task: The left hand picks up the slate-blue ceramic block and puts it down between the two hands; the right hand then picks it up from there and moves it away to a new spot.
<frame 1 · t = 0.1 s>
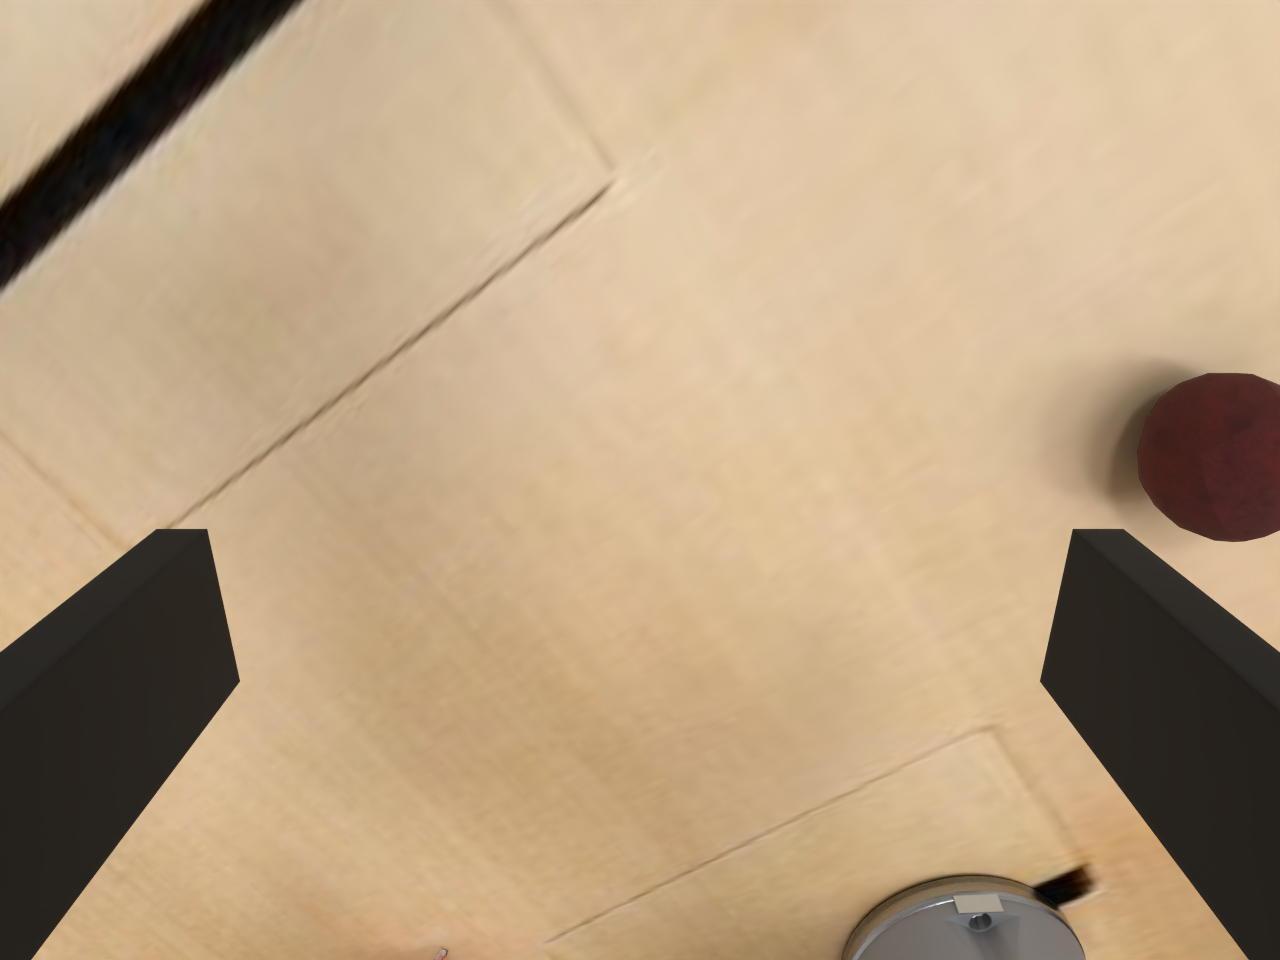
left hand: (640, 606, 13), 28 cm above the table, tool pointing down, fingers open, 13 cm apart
dark red ball: (1179, 429, 41), on the table
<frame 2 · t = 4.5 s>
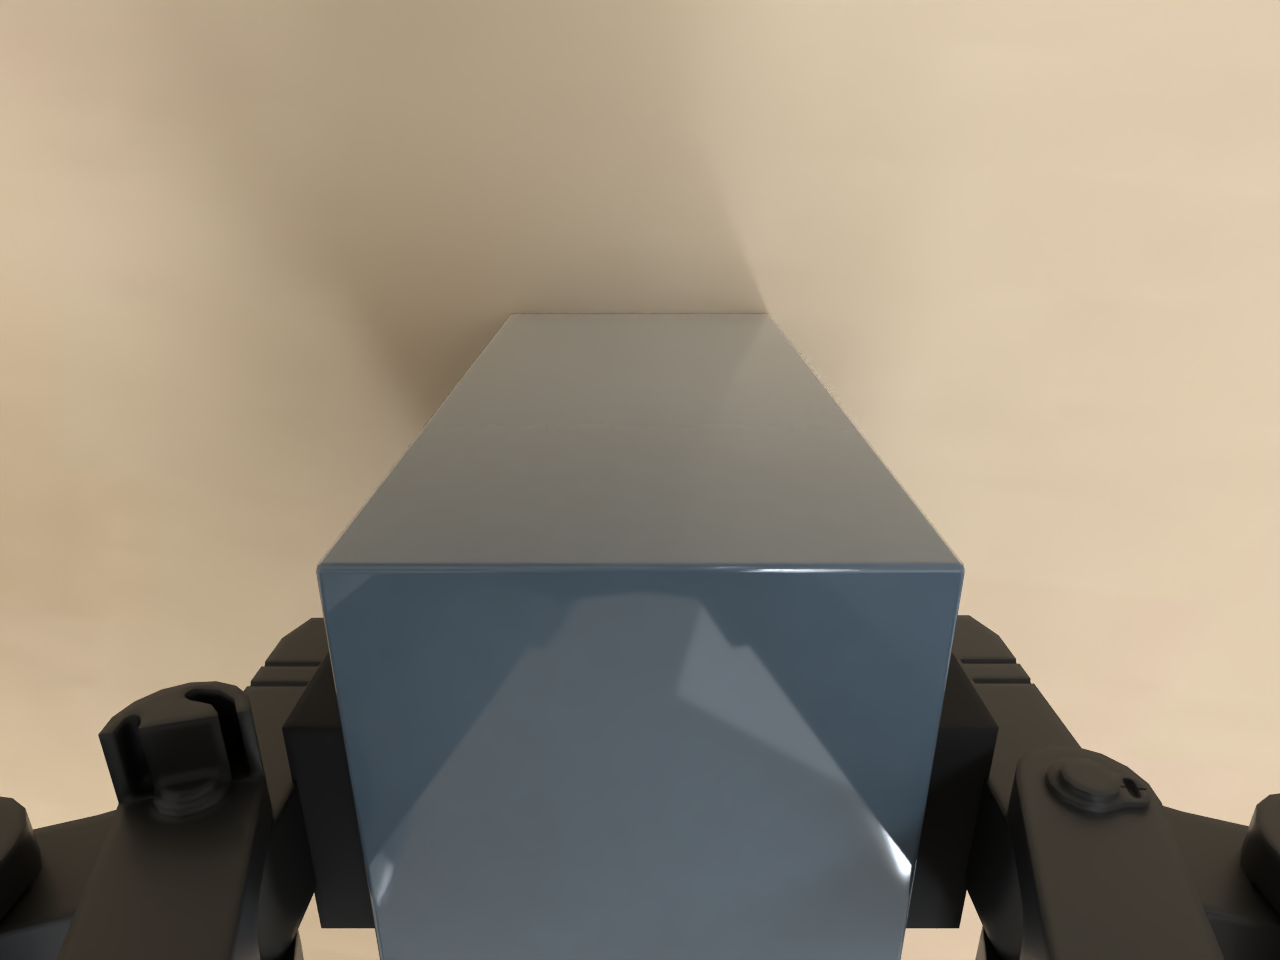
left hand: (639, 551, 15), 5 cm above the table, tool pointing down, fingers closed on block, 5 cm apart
block: (640, 461, 19), on the table, touching left hand
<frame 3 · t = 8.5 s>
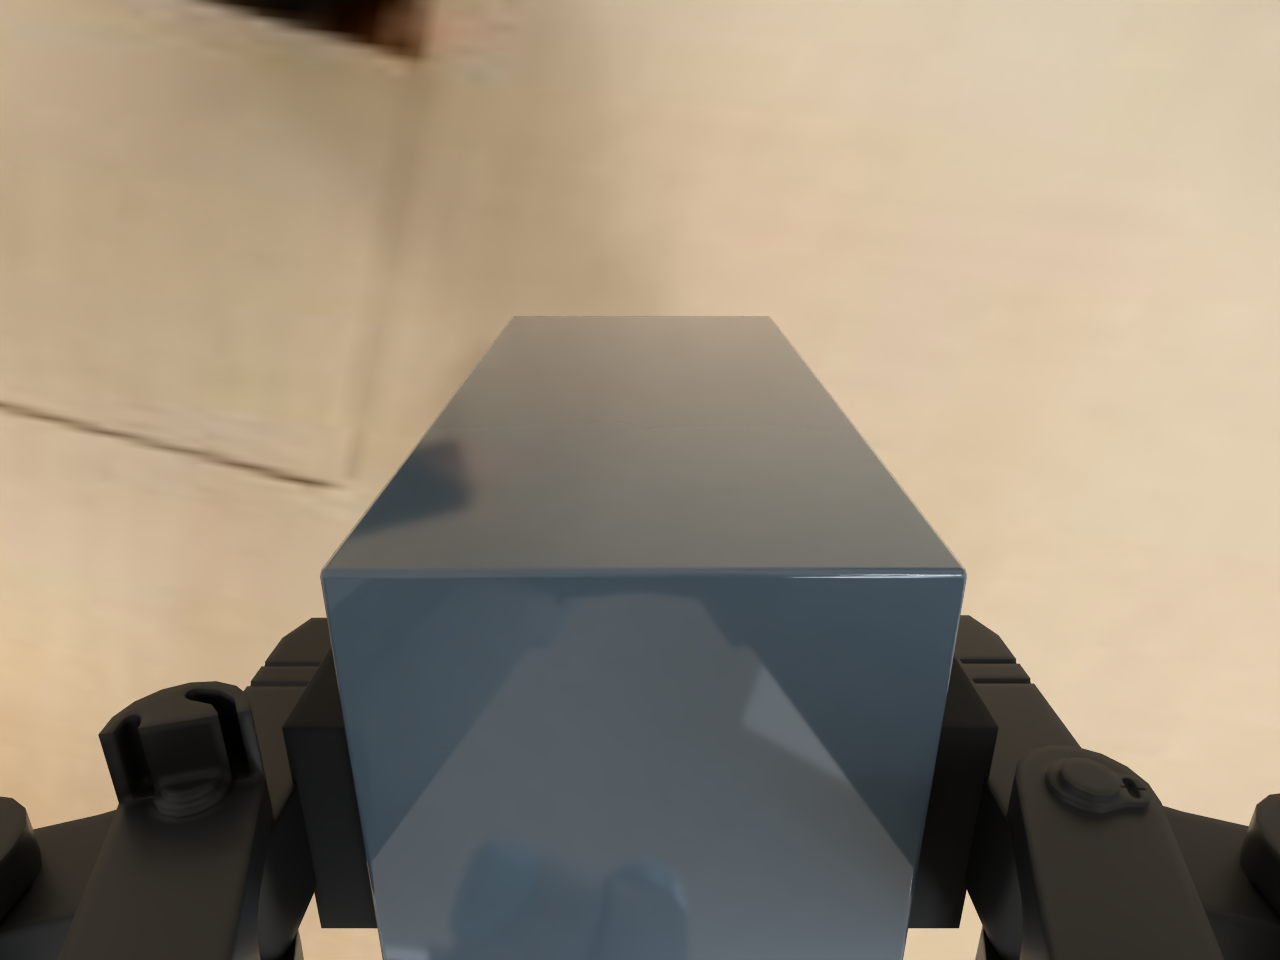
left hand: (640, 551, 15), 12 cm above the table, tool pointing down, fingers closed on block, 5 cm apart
block: (641, 463, 19), point 8 cm above the table, touching left hand
when the left hand's fingers open (6 cm above the table, at t = 13.0 s): block drops 1 cm, on the table.
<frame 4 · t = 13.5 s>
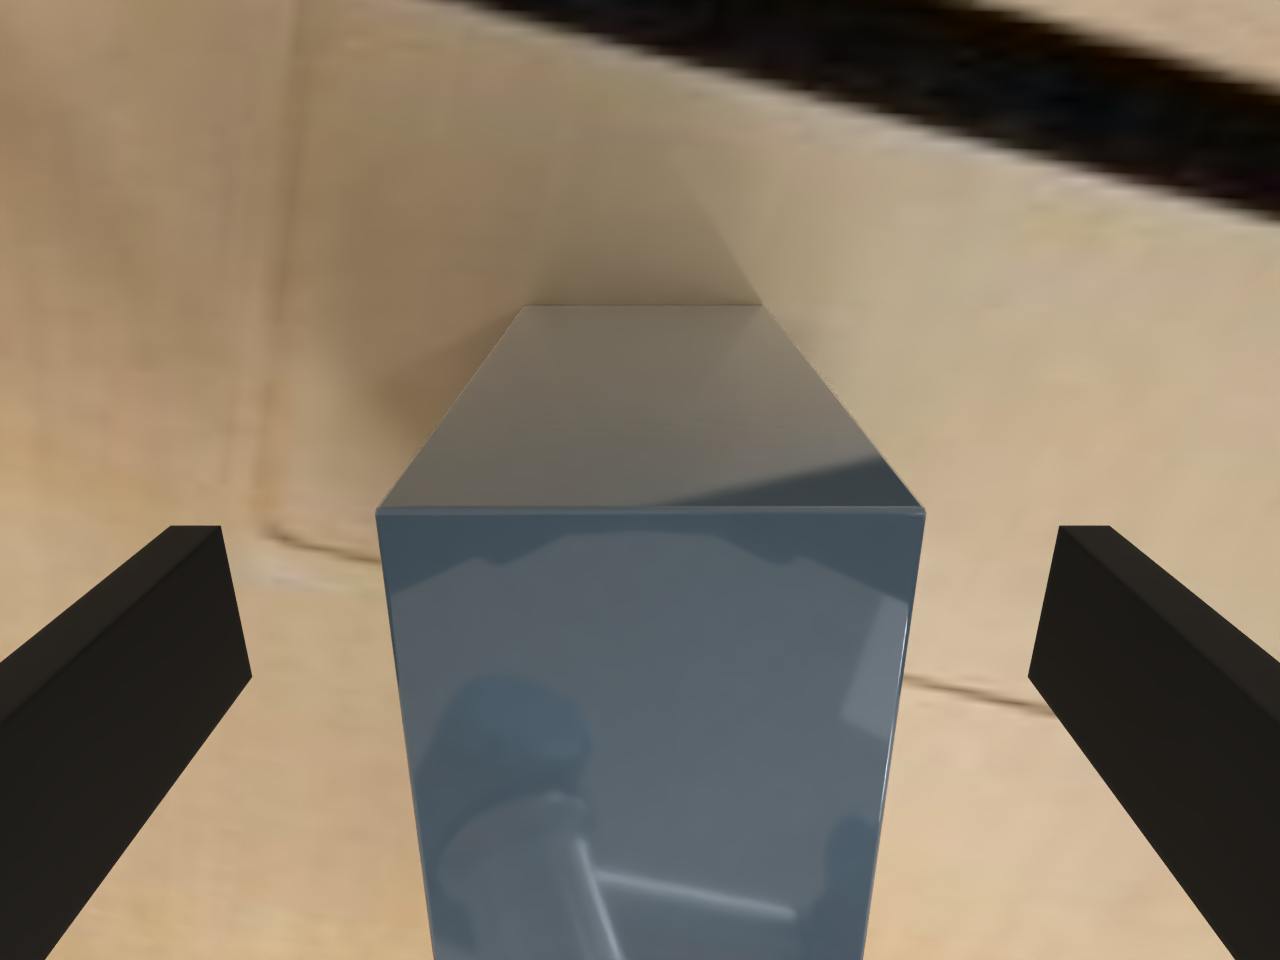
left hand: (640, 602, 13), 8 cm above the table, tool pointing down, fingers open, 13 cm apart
block: (644, 444, 20), on the table
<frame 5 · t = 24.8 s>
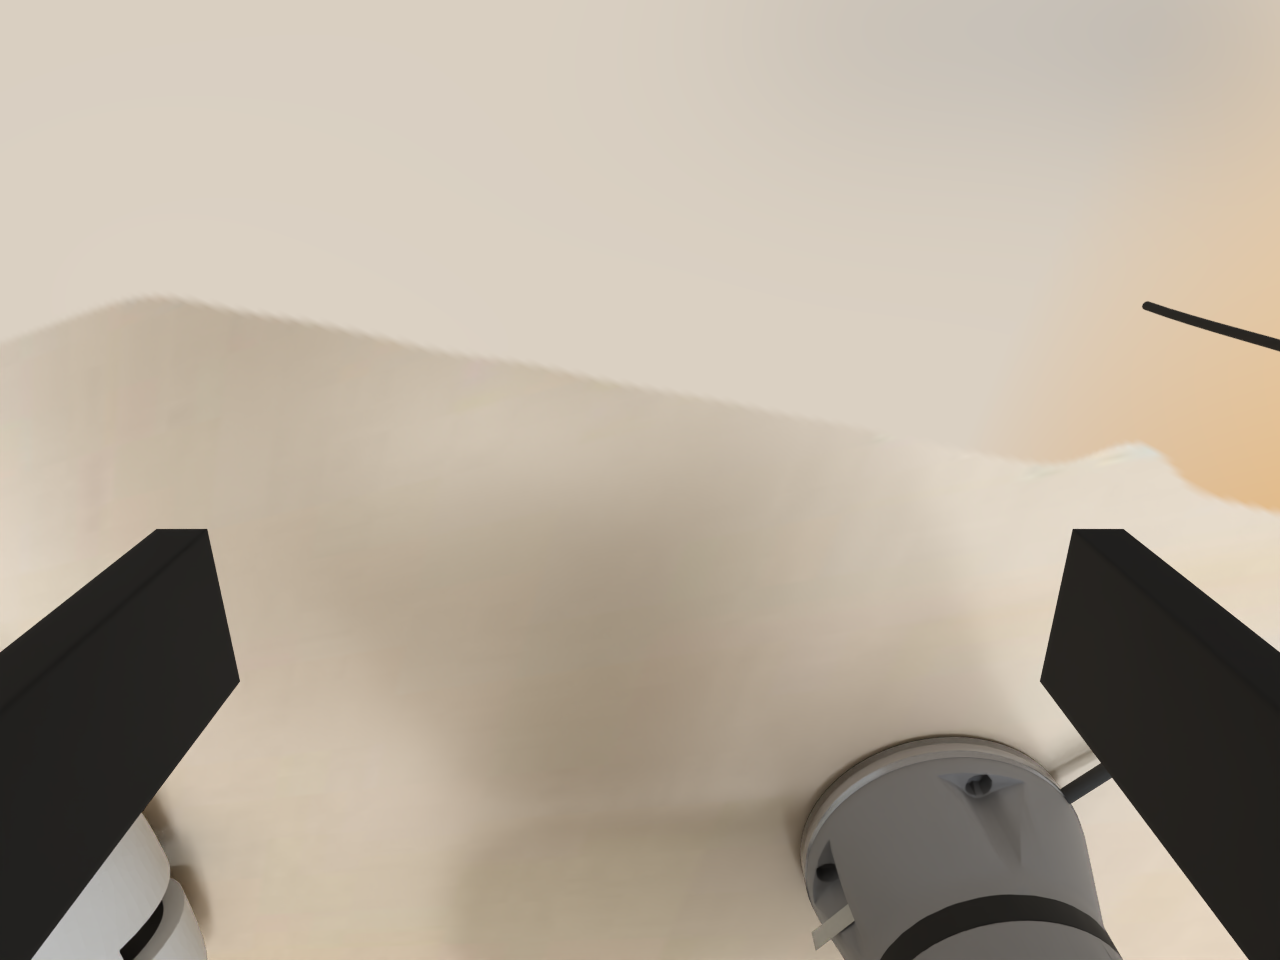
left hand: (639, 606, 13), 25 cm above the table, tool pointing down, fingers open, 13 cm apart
projector: (22, 872, 48), on the table
when the right hand's fingers open (6 cm above the table, at t = 36.4 s): block drops 1 cm, on the table.
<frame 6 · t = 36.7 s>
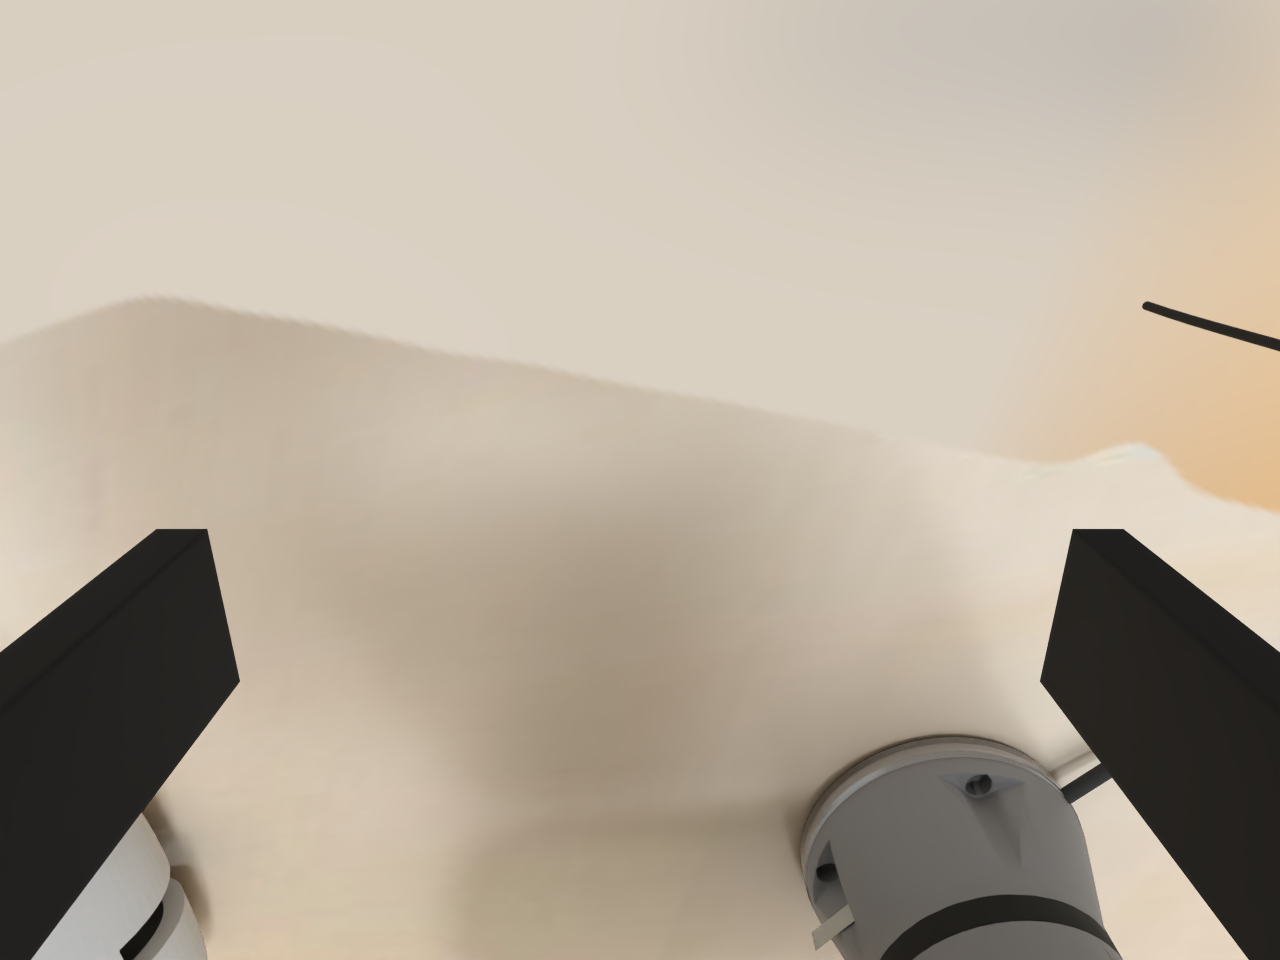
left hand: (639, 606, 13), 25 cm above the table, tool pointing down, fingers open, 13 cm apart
projector: (22, 872, 48), on the table
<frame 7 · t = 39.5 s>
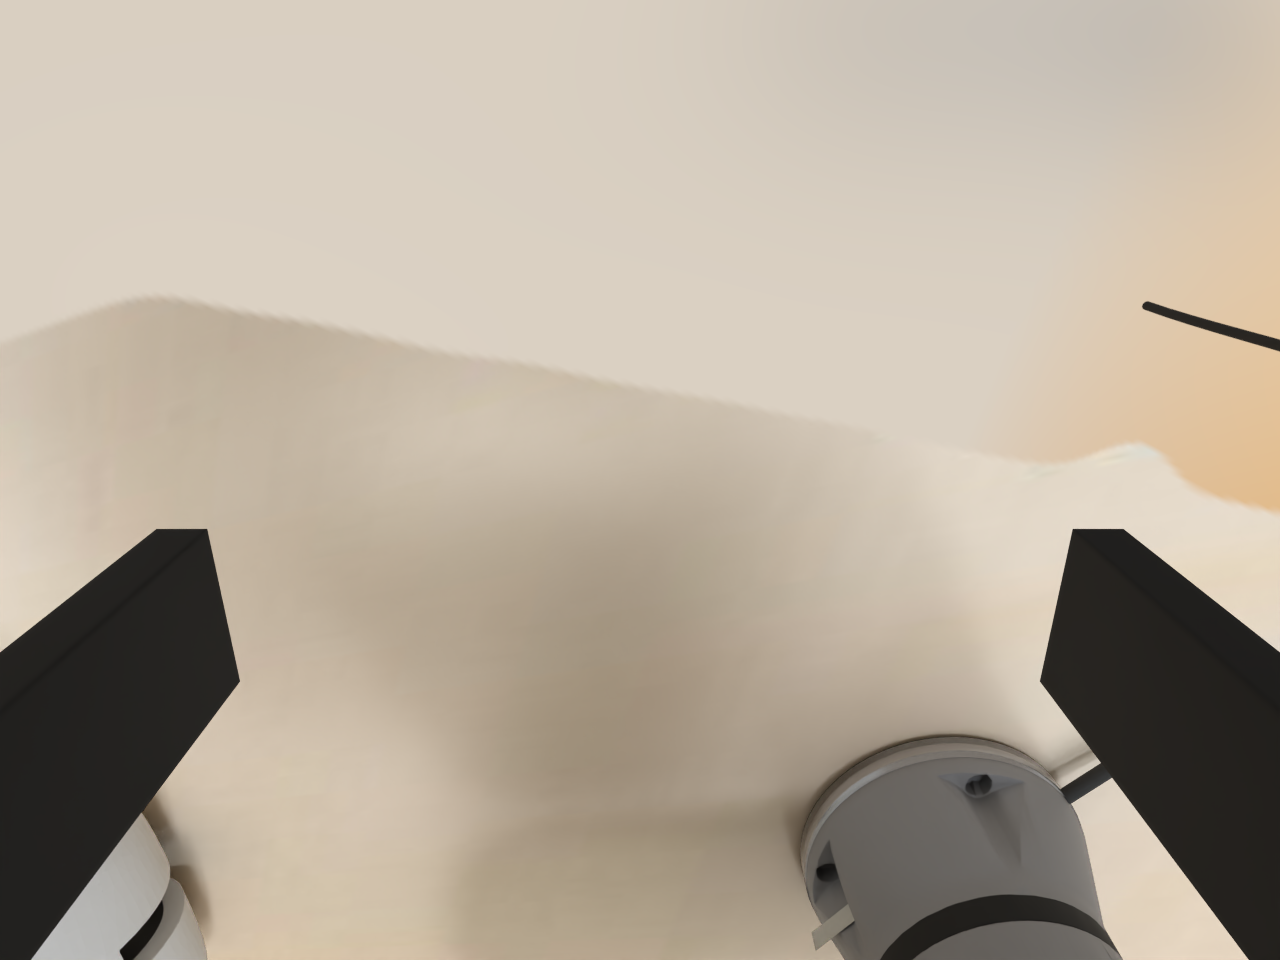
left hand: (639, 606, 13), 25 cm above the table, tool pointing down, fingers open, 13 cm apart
projector: (22, 872, 48), on the table
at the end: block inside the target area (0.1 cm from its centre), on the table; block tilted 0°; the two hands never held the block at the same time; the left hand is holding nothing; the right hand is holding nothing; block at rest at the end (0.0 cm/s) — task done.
